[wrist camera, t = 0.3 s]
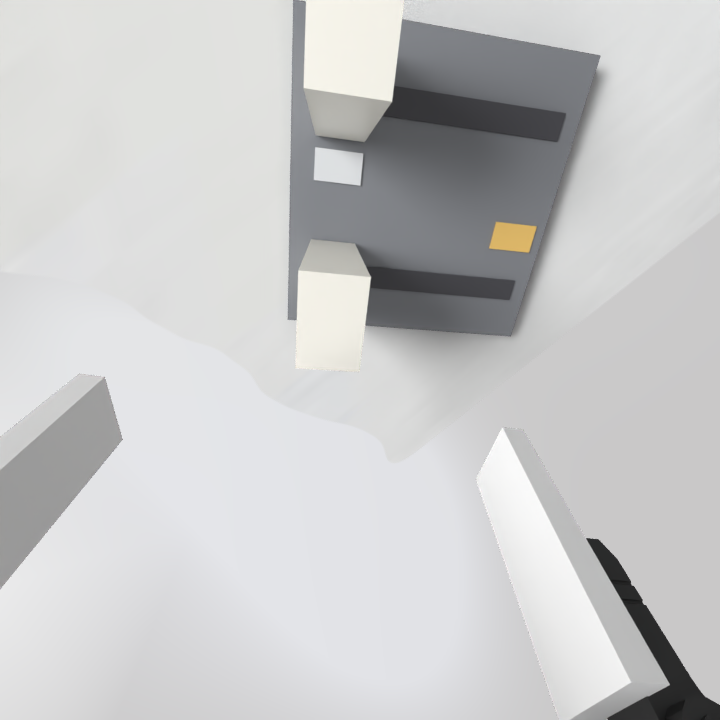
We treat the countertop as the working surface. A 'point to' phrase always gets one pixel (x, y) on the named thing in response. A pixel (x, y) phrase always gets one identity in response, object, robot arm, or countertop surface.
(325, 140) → the switch panel
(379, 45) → the block
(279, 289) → the countertop surface
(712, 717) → the robot arm
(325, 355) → the cream white tall block
